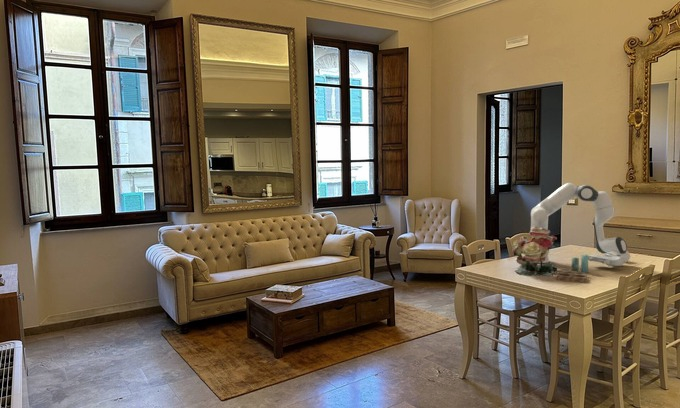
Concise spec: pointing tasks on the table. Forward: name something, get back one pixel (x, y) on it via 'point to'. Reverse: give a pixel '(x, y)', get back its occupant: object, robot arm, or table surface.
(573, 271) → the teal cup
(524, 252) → the rose bouquet
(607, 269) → the table surface
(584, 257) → the dowel
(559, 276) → the socket board
